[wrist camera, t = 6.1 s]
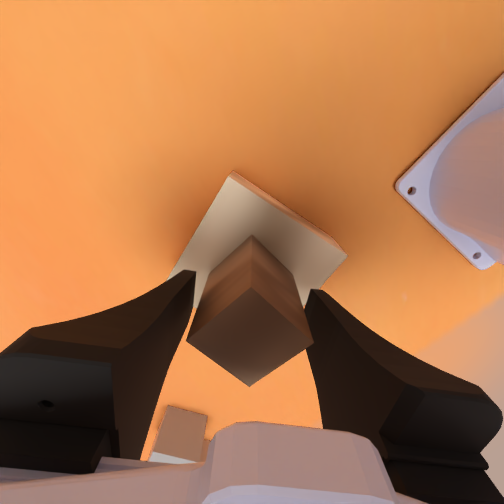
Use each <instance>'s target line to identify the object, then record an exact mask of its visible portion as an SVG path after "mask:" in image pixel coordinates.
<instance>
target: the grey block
mask: <svg viewBox="0 0 504 504" xmlns="http://www.w3.org/2000/svg"><path fill="white" fill-rule="evenodd" d="M206 422H207V416H206V415H202V414H198V413H195V412H191V411H187V410H184V409H180V408H176V407H172V406H169V405H168V407H167V409H166V411H165V414H164V416H163V419H162V421H161V423H160V426H159V428H158V431H157V434H156V437H155V440H154V443H153V446H152V449H151V451H150V454H149V457H148V460H147V461H151V462H161V463H171V464H187V463H197V462H200V457H201V451H202V445H203V439H204V433H205V427H206Z"/></svg>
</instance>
